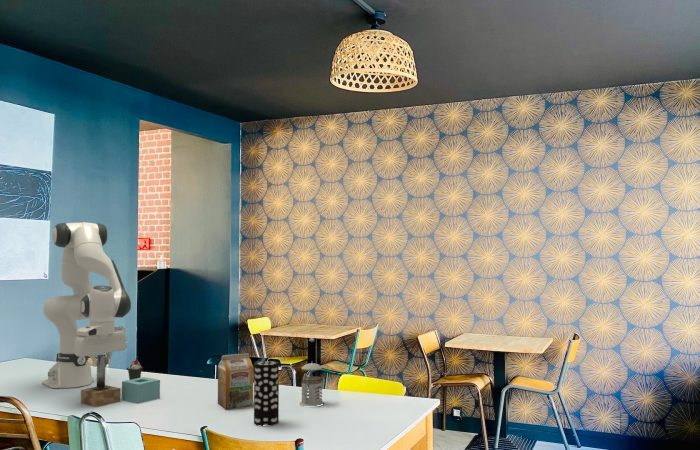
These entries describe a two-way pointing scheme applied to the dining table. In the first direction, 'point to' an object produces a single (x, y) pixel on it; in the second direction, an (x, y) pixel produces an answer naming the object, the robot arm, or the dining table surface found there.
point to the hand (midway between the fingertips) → (101, 365)
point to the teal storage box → (140, 390)
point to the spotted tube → (266, 393)
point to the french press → (311, 386)
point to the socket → (100, 396)
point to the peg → (101, 371)
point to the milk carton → (235, 381)
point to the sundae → (134, 370)
